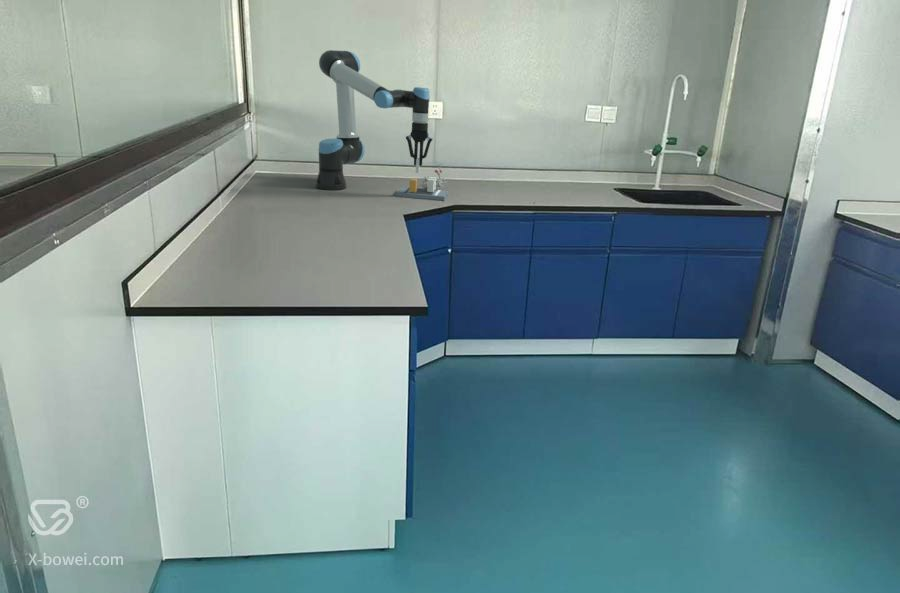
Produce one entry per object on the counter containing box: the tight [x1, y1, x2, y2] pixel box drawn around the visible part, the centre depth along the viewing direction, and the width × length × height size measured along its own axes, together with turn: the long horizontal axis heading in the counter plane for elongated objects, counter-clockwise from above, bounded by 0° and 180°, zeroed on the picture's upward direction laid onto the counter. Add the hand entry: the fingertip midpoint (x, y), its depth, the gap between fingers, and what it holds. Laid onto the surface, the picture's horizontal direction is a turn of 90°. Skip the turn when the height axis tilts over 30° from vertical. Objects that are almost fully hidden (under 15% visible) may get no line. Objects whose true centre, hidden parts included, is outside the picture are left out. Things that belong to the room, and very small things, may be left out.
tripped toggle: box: [409, 178, 418, 193], centre depth 307 cm, size 3×3×6 cm
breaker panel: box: [395, 176, 449, 202], centre depth 311 cm, size 24×14×8 cm, turn 82°
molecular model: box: [422, 166, 447, 188], centre depth 328 cm, size 19×10×10 cm, turn 154°
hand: (417, 172), depth 305 cm, fingers closed
